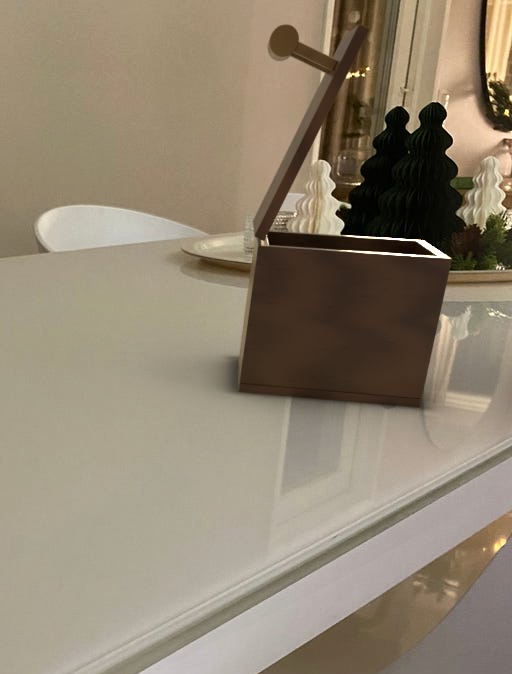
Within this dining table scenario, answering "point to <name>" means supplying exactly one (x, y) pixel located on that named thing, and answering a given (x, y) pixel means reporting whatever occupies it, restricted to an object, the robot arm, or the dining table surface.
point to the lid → (335, 70)
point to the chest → (341, 317)
